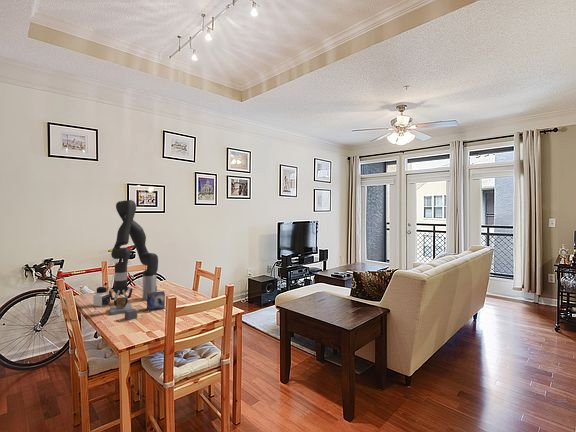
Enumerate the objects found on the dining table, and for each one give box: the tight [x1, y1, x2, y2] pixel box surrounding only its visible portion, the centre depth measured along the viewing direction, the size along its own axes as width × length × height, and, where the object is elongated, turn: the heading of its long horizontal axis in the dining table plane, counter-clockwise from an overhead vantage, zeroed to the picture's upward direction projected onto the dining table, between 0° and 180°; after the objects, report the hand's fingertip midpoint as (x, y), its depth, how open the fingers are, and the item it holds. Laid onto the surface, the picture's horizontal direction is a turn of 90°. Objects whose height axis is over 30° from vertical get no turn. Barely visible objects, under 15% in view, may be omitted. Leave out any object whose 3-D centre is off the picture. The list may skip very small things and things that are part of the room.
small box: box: [146, 290, 166, 311], centre depth 208 cm, size 11×6×10 cm, turn 118°
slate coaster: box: [109, 303, 133, 316], centre depth 202 cm, size 12×12×2 cm
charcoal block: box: [124, 308, 138, 321], centre depth 189 cm, size 5×5×5 cm
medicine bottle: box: [92, 286, 111, 307], centre depth 214 cm, size 7×7×12 cm
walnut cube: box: [116, 296, 126, 308], centre depth 202 cm, size 5×5×5 cm
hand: (120, 305), depth 202 cm, fingers closed on walnut cube, 5 cm apart
